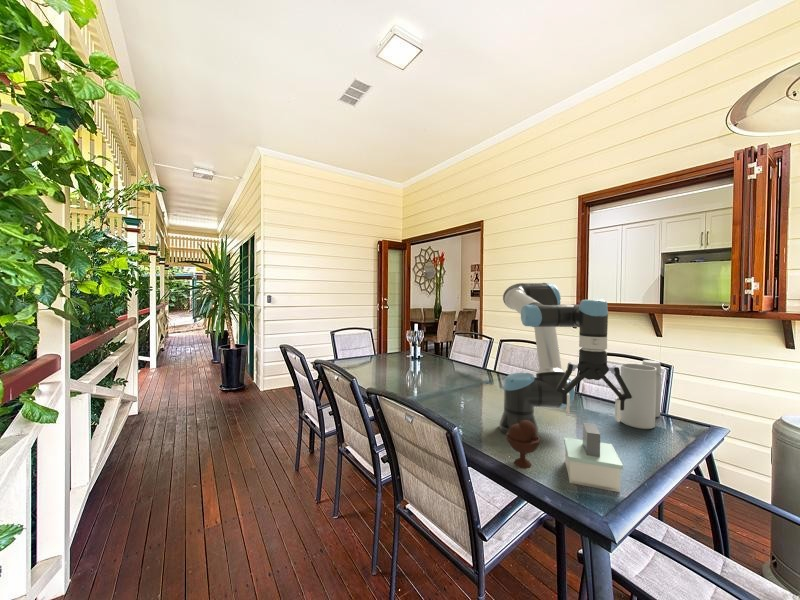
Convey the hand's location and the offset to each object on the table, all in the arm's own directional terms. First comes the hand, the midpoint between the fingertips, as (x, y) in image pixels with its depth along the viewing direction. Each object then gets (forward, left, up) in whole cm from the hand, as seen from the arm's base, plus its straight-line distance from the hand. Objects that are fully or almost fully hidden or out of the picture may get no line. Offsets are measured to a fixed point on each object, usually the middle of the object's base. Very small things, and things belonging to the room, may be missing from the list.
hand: (592, 417), depth 103 cm
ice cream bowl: (-20, 0, -19) cm, 28 cm away
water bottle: (+34, +67, -19) cm, 78 cm away
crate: (0, 0, -19) cm, 19 cm away
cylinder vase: (+26, +53, -19) cm, 62 cm away
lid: (0, 0, -12) cm, 12 cm away
